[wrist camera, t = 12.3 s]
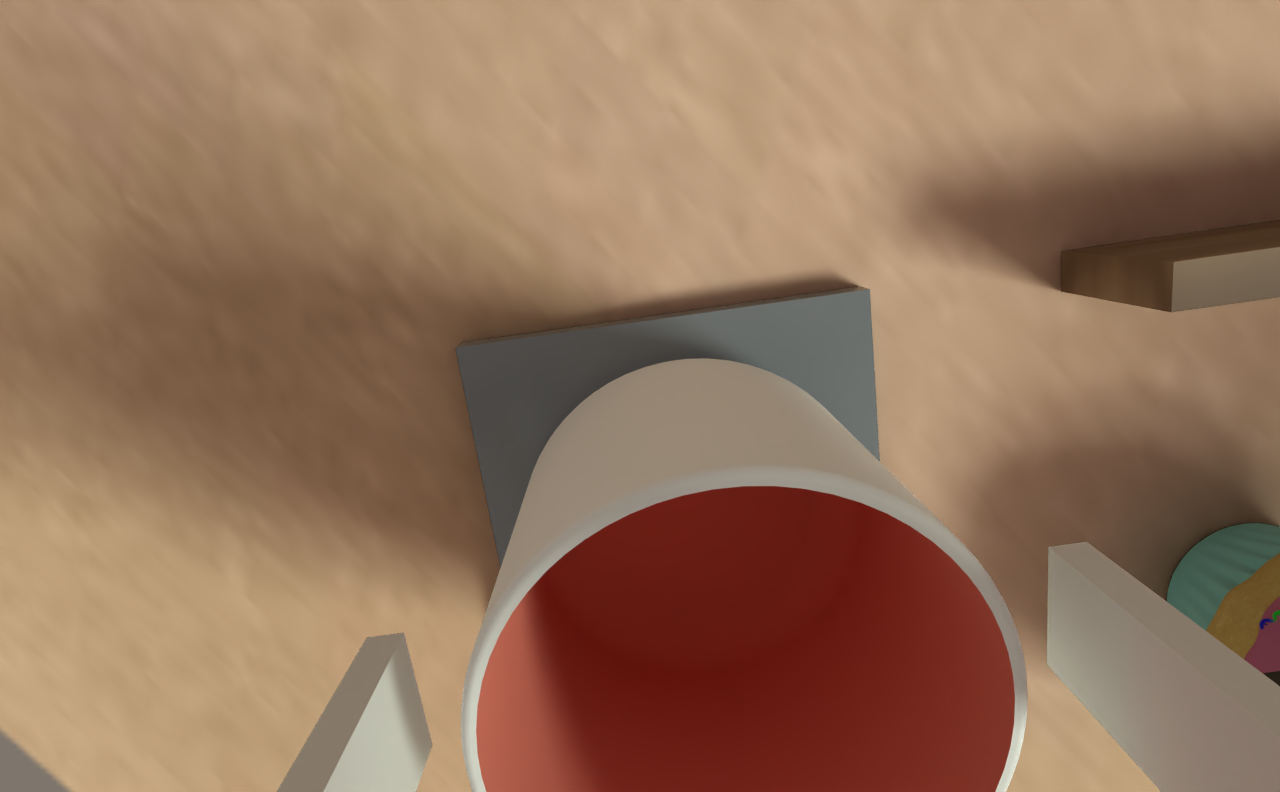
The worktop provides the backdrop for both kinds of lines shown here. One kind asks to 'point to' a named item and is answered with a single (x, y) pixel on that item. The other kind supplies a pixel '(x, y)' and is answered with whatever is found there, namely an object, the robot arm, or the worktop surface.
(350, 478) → the worktop surface
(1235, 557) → the cupcake
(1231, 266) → the frame
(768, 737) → the cup
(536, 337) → the coaster
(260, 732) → the worktop surface
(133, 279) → the worktop surface
